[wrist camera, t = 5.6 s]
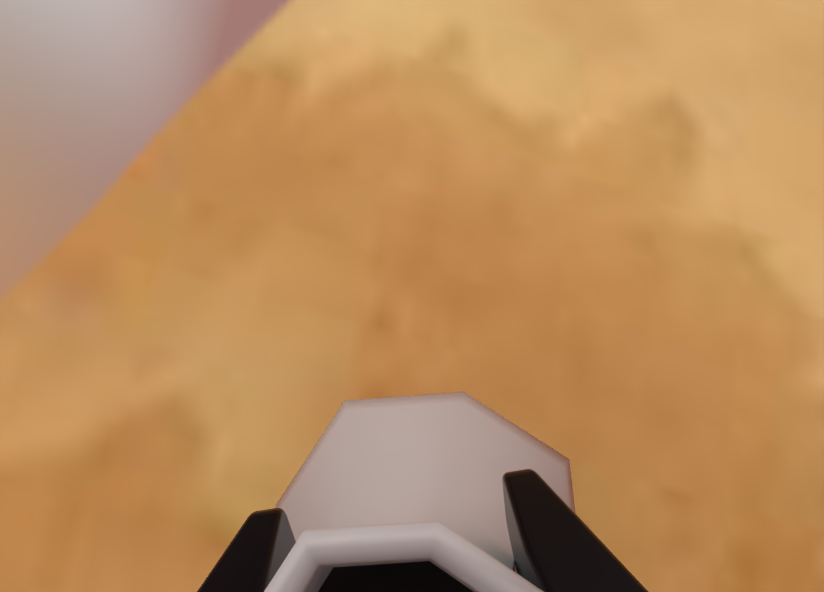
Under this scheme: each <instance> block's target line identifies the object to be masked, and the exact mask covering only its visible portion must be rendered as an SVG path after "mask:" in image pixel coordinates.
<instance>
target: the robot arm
mask: <svg viewBox="0 0 824 592" xmlns="http://www.w3.org/2000/svg"><path fill="white" fill-rule="evenodd" d="M502 484H503V494H504V504H505V514H506V522H507V528H508V533H509V538H510V543H511V547H512V552H513V557H514V562H515V567H516V571H517V574H519V575H520V576H521V577H523V578H524V579H526V580H527V581H529V582H530V583H532V584H533V585H535V586H536V587H538V588H539V589H541V590H542V591H544V592H648V591H647V590H646V589H645V588H644V587H643V586H642V584H641V583H640V582H639V581H638V580H637V579H636V578H635V577H634V576H633V575H632V574H631V573H630V572H629V571H628V570H627V568H626V567H625V566H624V565H623V564H622V563H621V562H620V561H619V560H618V559H617V558H616V557H615V556H614V555H613V554H612V552H611V551H610V550H609V549H608V548H607V547H606V546H605V545H604V544H603V543H602V542H601V541H600V540H599V539H598V538H597V536H596V535H595V534H594V533H593V532H592V531H591V530H590V529H589V528H588V527H587V526H586V525H585V524H584V523H583V522H582V520H581V519H580V518H579V517H578V516H577V515H576V514H575V513H574V512H573V511H572V510H571V509H570V508H569V507H568V506H567V504H566V503H565V502H564V501H563V500H562V499H561V498H560V497H559V496H558V495H557V494H556V493H555V492H554V491H553V490H552V488H551V487H550V486H549V485H548V484H547V483H546V482H545V481H544V480H543V479H542V478H541V477H540V476H539V475H538V474H537V473H536V472H535V471H534V470H532V469H525V470H518V471H512V472H506V473H505V474H504V475H503V477H502ZM295 543H296V541H295V538H294V535H293V532H292V529H291V526H290V523H289V520H288V518H287V515H286V513H285V511H284V510H283V509H281V508H274V509H268V510H261V511H256V512H253V513H252V514H251V515H250V516H249V517H248V518H247V520H246V521H245V523H244V524H243V526H242V527H241V528H240V530H239V531H238V533H237V534H236V536H235V537H234V539H233V540H232V542H231V543H230V545H229V546H228V547H227V549H226V550H225V552H224V553H223V555H222V556H221V558H220V559H219V561H218V562H217V564H216V565H215V567H214V568H213V569H212V571H211V572H210V574H209V575H208V577H207V578H206V580H205V581H204V583H203V584H202V586H201V587H200V588H199V590H198V591H197V592H264V591H265V589H266V588H267V586H268V585H269V583H270V582H271V580H272V579H273V577H274V576H275V574H276V572H277V571H278V569H279V568H280V566H281V565H282V563H283V562H284V560H285V559H286V557H287V555H288V554H289V552H290V551H291V549H292V548H293V546H294V545H295Z"/></svg>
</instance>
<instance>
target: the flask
mask: <svg viewBox="0 0 824 592" xmlns="http://www.w3.org/2000/svg"><path fill="white" fill-rule="evenodd" d="M525 469H532V470H534V471H535V472H536V473H537V474H538V475H539V476H540V477H541V478H542V479H543V480H544V481H545V482H546V483H547V484H548V485H549V486H550V487H551V488H552V490H553V491H554V492H555V493H556V494H557V495H558V496H559V497H560V498H561V499H562V500H563V501H564V502H565V503H566V504H567V506H568V507H569V508H570V509H571V510H572V511H573V512H574V513H575V505H574V497H573V488H572V480H571V471H570V463H569V459H568V458H567V457H565V456H563V455H562V454H560V453H559V452H557V451H556V450H554V449H553V448H551V447H549V446H548V445H546V444H545V443H543V442H542V441H540V440H538V439H537V438H535V437H534V436H532V435H531V434H529V433H528V432H526V431H524V430H523V429H521V428H520V427H518V426H517V425H515V424H513V423H512V422H510V421H509V420H507V419H506V418H504V417H502V416H501V415H499V414H498V413H496V412H495V411H493V410H492V409H490V408H488V407H487V406H485V405H484V404H482V403H481V402H479V401H477V400H476V399H474V398H473V397H471V396H470V395H468V394H467V393H465V392H455V393H441V394H428V395H414V396H400V397H387V398H373V399H360V400H346V401H344V402H343V404H342V405H341V407H340V409H339V410H338V412H337V413H336V415H335V416H334V418H333V419H332V421H331V422H330V424H329V425H328V427H327V428H326V430H325V431H324V433H323V434H322V436H321V437H320V439H319V440H318V442H317V444H316V445H315V447H314V448H313V450H312V451H311V453H310V454H309V456H308V457H307V459H306V460H305V462H304V463H303V465H302V466H301V468H300V469H299V471H298V472H297V474H296V475H295V477H294V478H293V480H292V482H291V483H290V485H289V486H288V488H287V489H286V491H285V492H284V494H283V495H282V497H281V498H280V500H279V501H278V503H277V504H276V508H281V509H283V510H284V511H285V513H286V515H287V518H288V520H289V523H290V526H291V529H292V532H293V535H294V538H295V541H296V543H295V545H294V546H293V548H292V549H291V551H290V552H289V554H288V555H287V557H286V559H285V560H284V562H283V563H282V565H281V566H280V568H279V569H278V571H277V572H276V574H275V576H274V577H273V579H272V580H271V582H270V583H269V585H268V586H267V588H266V589H265V591H264V592H544V591H542V590H541V589H539V588H538V587H536V586H535V585H533V584H532V583H530V582H529V581H527V580H526V579H524V578H523V577H521V576H520V575H519V574H517V571H516V567H515V562H514V557H513V552H512V547H511V543H510V538H509V533H508V528H507V522H506V514H505V504H504V494H503V484H502V477H503V475H504V474H505V473H506V472H512V471H518V470H525Z"/></svg>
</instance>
